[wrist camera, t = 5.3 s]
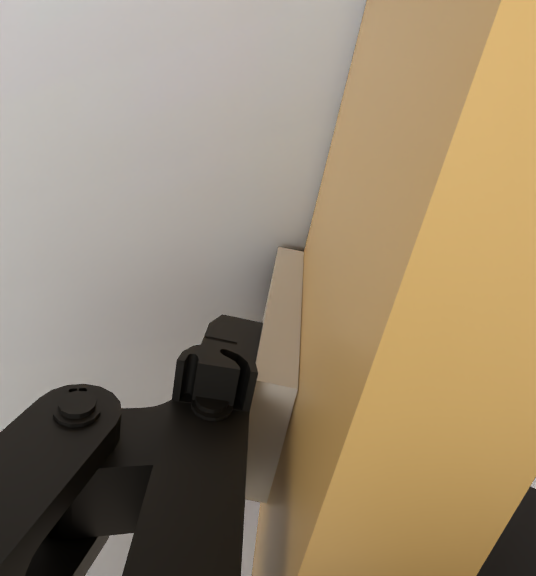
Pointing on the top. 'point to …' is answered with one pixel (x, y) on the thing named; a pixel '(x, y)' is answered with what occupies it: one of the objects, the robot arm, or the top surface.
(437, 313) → the tan flat block
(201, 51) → the top surface
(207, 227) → the top surface
